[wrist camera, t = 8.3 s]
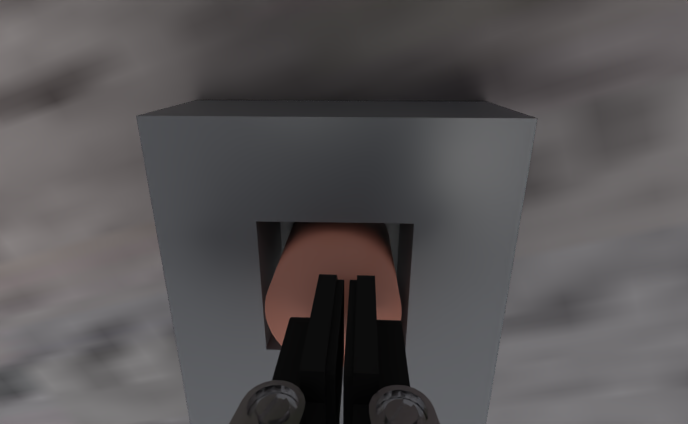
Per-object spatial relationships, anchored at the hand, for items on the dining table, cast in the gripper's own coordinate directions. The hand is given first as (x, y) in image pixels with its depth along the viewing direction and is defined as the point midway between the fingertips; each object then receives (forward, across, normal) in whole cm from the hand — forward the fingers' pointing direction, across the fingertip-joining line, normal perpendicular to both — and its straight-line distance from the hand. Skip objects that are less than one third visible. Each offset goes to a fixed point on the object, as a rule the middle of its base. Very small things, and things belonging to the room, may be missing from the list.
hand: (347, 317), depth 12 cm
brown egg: (+6, +1, 0) cm, 6 cm away
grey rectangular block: (+7, +1, +10) cm, 12 cm away
